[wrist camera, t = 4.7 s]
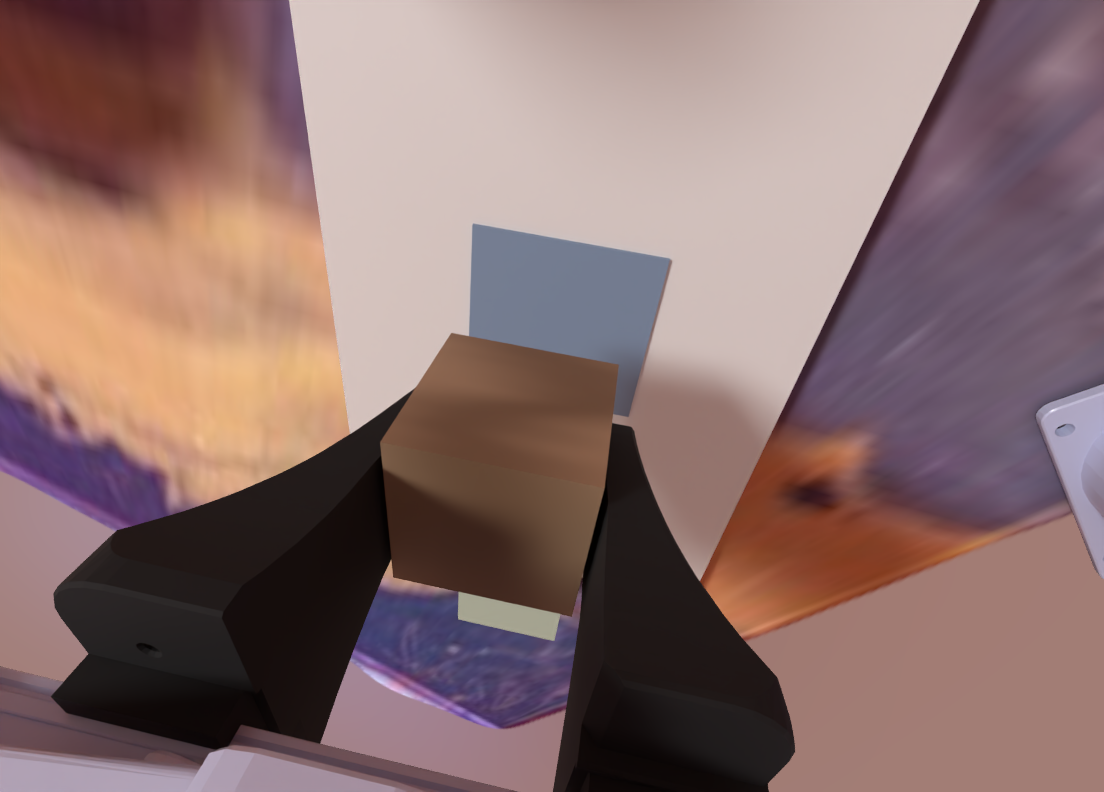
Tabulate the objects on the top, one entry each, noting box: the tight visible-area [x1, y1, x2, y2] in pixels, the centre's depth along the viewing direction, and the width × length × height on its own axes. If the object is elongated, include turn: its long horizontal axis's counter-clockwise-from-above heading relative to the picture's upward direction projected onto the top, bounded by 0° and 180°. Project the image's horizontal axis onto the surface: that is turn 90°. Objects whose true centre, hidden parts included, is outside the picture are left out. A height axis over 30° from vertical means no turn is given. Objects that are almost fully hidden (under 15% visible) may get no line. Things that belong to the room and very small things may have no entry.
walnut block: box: [380, 333, 619, 617], centre depth 12 cm, size 4×4×4 cm
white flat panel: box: [289, 0, 980, 581], centre depth 18 cm, size 16×26×1 cm, turn 173°
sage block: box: [458, 592, 560, 641], centre depth 22 cm, size 4×4×4 cm
